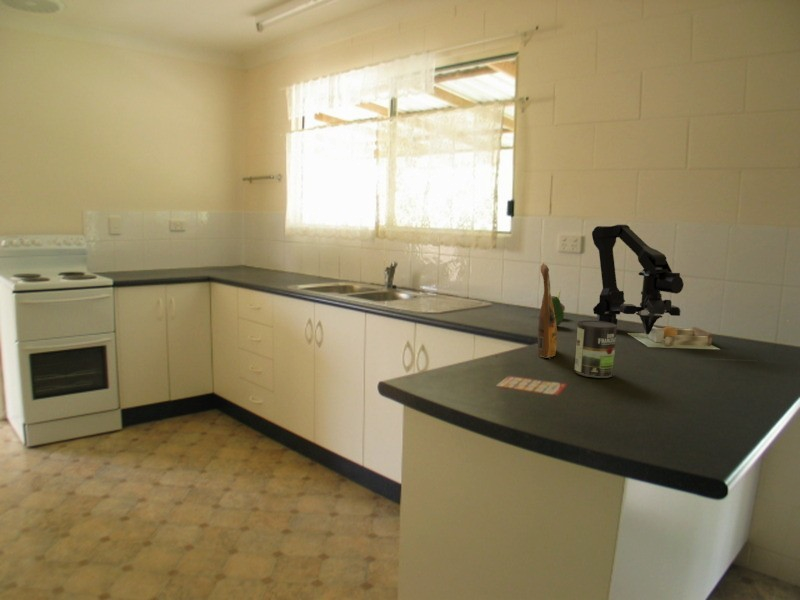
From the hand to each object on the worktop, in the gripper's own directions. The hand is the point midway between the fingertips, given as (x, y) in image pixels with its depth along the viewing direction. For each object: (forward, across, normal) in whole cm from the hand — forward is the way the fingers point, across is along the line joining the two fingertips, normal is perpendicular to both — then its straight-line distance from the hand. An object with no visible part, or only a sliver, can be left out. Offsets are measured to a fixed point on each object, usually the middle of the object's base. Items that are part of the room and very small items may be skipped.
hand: (647, 334), depth 201 cm
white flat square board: (+2, +8, 0) cm, 9 cm away
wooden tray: (+2, +11, 0) cm, 11 cm away
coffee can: (+3, -30, -45) cm, 54 cm away
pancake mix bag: (+3, -39, -23) cm, 46 cm away
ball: (0, +7, 0) cm, 7 cm away
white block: (+3, +2, 0) cm, 4 cm away
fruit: (+3, -28, +21) cm, 35 cm away
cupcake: (+3, -25, +39) cm, 46 cm away
